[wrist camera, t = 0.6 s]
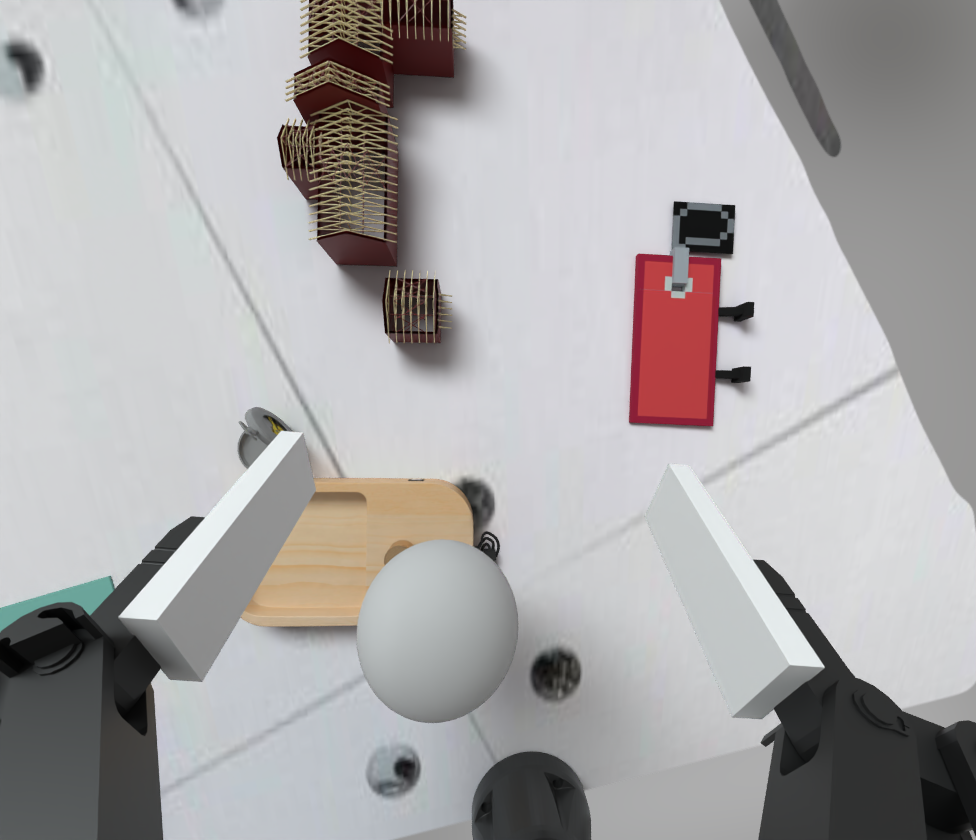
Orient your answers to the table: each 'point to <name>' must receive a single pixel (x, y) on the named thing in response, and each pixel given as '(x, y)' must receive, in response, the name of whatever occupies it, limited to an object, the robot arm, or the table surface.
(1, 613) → the green mark
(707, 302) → the red board with handle
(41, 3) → the table surface
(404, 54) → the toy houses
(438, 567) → the lamp
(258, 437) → the pocket watch
